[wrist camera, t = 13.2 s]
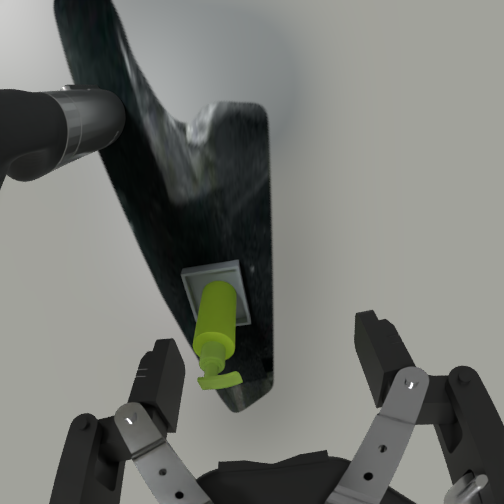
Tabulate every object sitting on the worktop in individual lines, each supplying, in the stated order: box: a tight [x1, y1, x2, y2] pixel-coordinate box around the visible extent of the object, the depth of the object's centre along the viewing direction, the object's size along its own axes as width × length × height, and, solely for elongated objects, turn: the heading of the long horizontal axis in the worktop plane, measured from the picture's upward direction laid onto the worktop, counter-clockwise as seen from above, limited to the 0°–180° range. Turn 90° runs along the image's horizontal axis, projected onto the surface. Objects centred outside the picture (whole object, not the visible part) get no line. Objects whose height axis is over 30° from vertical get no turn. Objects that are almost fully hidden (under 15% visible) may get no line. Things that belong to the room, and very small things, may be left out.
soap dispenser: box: [193, 281, 243, 390], centre depth 46 cm, size 6×7×20 cm
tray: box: [181, 260, 251, 326], centre depth 55 cm, size 12×10×2 cm
